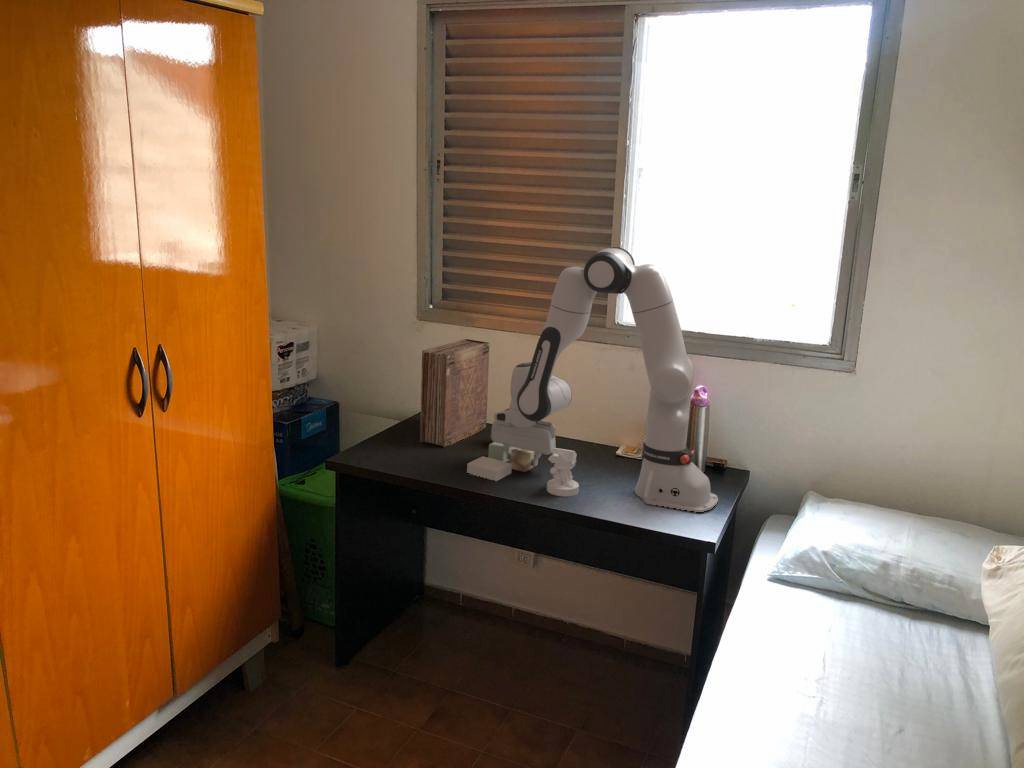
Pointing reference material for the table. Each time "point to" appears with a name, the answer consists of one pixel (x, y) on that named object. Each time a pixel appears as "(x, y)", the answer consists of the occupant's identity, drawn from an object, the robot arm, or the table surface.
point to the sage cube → (497, 452)
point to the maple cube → (522, 459)
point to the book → (454, 391)
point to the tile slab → (489, 468)
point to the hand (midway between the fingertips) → (521, 462)
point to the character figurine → (562, 473)
